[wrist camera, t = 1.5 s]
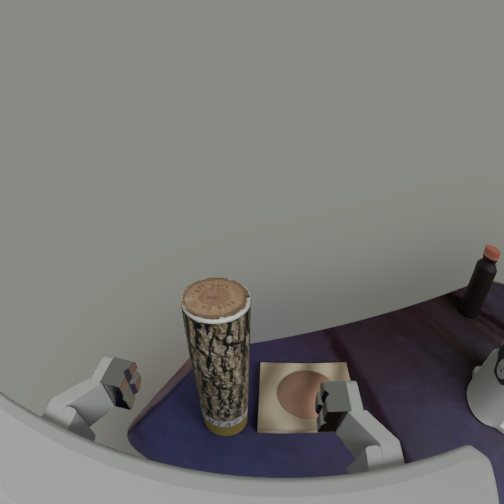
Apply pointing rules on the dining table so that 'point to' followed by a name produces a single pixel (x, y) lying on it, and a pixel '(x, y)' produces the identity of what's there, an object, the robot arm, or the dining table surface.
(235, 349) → the bark print tube
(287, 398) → the holder board
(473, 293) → the bottle
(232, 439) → the dining table surface
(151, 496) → the robot arm
